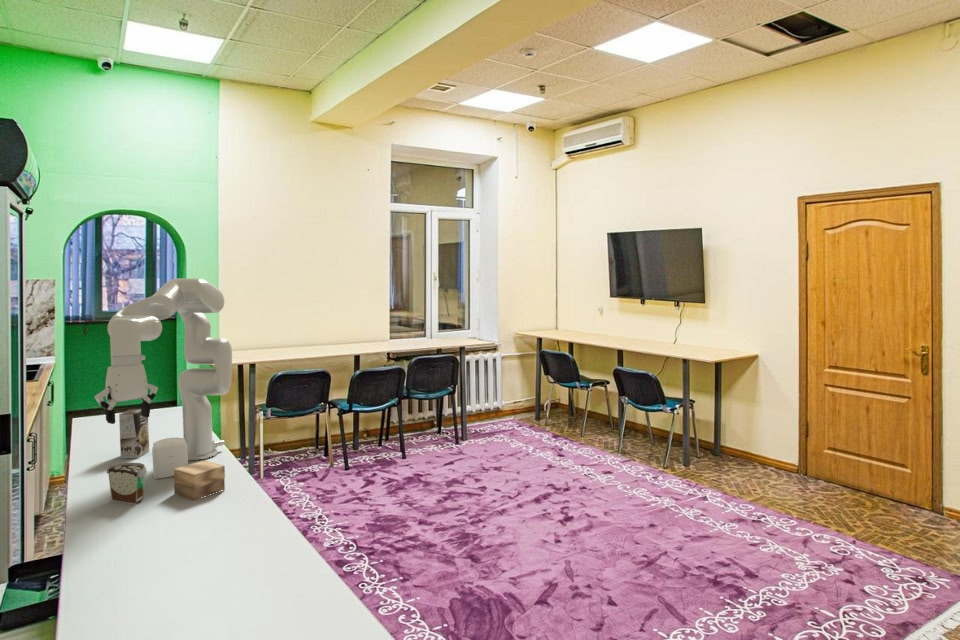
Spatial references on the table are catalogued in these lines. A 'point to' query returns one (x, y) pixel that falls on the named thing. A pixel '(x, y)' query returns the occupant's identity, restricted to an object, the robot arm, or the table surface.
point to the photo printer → (168, 456)
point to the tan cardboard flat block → (198, 490)
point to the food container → (127, 482)
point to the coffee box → (133, 434)
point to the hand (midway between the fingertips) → (128, 419)
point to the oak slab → (199, 474)
